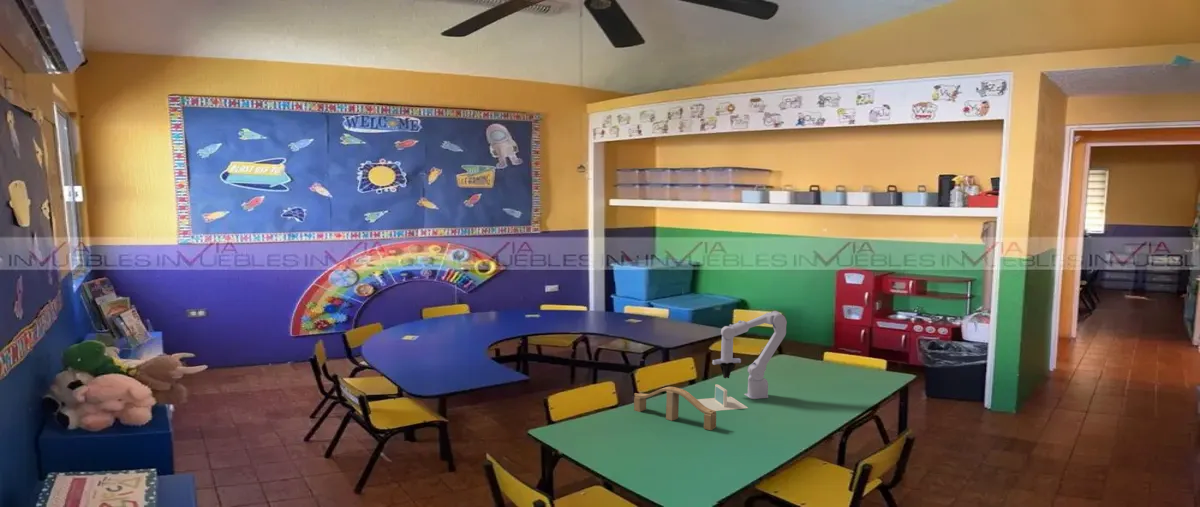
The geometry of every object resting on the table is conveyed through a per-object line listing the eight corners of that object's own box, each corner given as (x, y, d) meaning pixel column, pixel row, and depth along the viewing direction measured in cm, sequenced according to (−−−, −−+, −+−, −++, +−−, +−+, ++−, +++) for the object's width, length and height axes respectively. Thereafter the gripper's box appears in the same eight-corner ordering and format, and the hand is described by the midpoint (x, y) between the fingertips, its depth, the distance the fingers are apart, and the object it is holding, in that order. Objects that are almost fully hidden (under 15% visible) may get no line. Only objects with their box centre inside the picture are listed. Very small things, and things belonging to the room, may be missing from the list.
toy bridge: (716, 428, 308) (717, 396, 307) (709, 431, 304) (710, 399, 302) (637, 407, 335) (638, 377, 334) (630, 410, 331) (630, 380, 329)
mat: (731, 397, 351) (731, 396, 351) (748, 408, 334) (748, 407, 334) (689, 400, 345) (689, 399, 345) (705, 412, 328) (705, 411, 328)
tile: (717, 400, 345) (717, 384, 344) (726, 406, 335) (727, 390, 335) (714, 400, 345) (714, 384, 344) (723, 407, 335) (723, 390, 334)
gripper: (736, 348, 356) (735, 374, 358) (710, 349, 352) (709, 376, 354) (743, 351, 349) (742, 378, 351) (716, 353, 345) (715, 380, 347)
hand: (726, 377), depth 352 cm, fingers closed
